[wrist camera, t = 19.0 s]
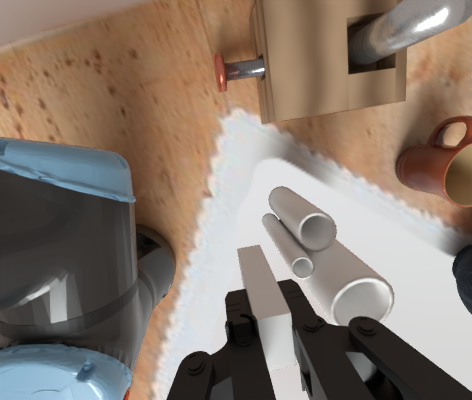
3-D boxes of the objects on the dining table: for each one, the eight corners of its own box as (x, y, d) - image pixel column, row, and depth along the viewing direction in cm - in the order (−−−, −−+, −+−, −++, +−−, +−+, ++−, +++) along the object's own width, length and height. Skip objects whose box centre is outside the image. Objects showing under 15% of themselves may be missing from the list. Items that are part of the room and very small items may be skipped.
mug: (433, 188, 44) (498, 204, 34) (386, 193, 43) (439, 210, 33) (442, 117, 41) (517, 111, 31) (392, 121, 40) (452, 116, 30)
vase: (319, 232, 44) (405, 308, 25) (285, 255, 44) (343, 348, 25) (285, 180, 41) (353, 221, 22) (249, 206, 41) (284, 268, 22)
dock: (262, 124, 38) (275, 121, 30) (249, 19, 34) (261, -15, 27) (366, 107, 39) (405, 100, 31) (365, 3, 35) (408, -33, 28)
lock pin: (218, 94, 35) (219, 89, 31) (212, 59, 34) (213, 49, 29) (312, 80, 36) (326, 73, 31) (309, 46, 34) (323, 33, 30)
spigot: (340, 72, 33) (431, 29, 20) (339, 38, 32) (434, -32, 19) (369, 67, 33) (478, 22, 20) (369, 33, 32) (483, -39, 19)
